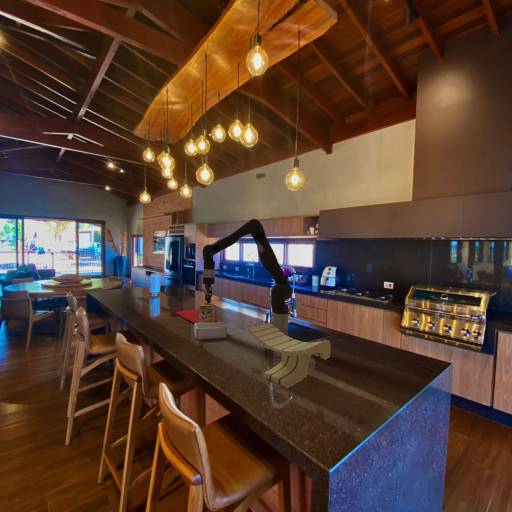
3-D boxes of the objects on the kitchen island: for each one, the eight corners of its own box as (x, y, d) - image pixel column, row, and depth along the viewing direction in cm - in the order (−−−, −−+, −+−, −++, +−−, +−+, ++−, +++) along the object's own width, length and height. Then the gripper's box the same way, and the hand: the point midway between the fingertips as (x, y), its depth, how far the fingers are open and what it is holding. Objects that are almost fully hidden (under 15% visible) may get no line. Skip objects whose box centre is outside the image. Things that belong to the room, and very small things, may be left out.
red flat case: (194, 312, 217) (195, 308, 217) (221, 325, 184) (222, 320, 184) (175, 315, 207) (175, 310, 207) (200, 329, 175) (200, 323, 175)
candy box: (198, 330, 170) (199, 305, 170) (199, 328, 175) (200, 304, 174) (213, 330, 171) (214, 306, 170) (213, 328, 175) (214, 304, 175)
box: (226, 337, 159) (226, 327, 158) (196, 339, 153) (196, 328, 153) (221, 331, 170) (222, 321, 170) (193, 333, 164) (194, 323, 164)
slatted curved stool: (328, 382, 110) (331, 338, 109) (307, 397, 98) (309, 347, 98) (270, 359, 130) (272, 322, 130) (247, 369, 118) (249, 328, 118)
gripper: (216, 277, 166) (215, 304, 167) (212, 275, 180) (211, 299, 180) (204, 277, 164) (203, 304, 165) (201, 275, 177) (200, 299, 178)
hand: (207, 302), depth 172 cm, fingers open, 8 cm apart
